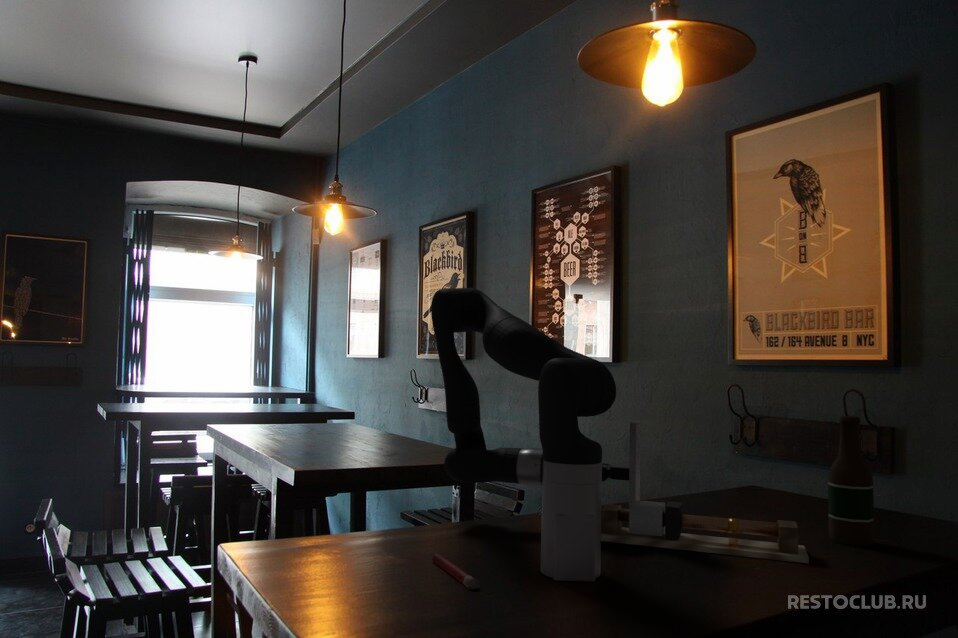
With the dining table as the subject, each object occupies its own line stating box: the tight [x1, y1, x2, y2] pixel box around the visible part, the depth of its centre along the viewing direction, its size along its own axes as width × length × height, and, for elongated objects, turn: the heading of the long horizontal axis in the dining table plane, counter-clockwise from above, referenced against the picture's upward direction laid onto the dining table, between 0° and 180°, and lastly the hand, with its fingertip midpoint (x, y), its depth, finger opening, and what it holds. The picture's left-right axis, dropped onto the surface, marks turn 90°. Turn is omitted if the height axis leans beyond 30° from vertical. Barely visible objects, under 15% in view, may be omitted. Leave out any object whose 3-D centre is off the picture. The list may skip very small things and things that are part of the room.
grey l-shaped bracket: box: [628, 420, 666, 536], centre depth 134 cm, size 6×6×20 cm
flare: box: [431, 552, 480, 590], centre depth 108 cm, size 2×15×2 cm, turn 24°
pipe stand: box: [601, 504, 810, 564], centre depth 130 cm, size 37×9×5 cm, turn 70°
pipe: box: [618, 508, 779, 538], centre depth 130 cm, size 32×3×3 cm, turn 70°
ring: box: [664, 501, 682, 539], centre depth 132 cm, size 2×6×6 cm, turn 160°
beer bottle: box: [827, 415, 875, 547], centre depth 137 cm, size 8×8×24 cm
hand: (631, 474), depth 135 cm, fingers closed
